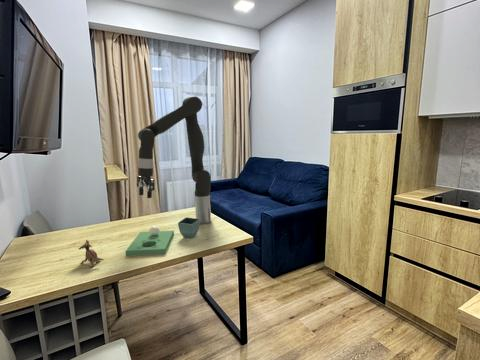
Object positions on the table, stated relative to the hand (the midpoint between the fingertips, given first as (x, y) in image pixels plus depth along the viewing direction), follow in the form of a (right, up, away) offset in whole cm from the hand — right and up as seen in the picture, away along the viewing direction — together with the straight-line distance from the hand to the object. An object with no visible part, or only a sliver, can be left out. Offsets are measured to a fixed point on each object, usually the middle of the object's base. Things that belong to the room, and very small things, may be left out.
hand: (145, 196), depth 137 cm
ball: (+6, -18, -4) cm, 19 cm away
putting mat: (+7, -24, -9) cm, 26 cm away
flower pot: (+24, -22, 0) cm, 33 cm away
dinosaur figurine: (-14, -28, -26) cm, 41 cm away
